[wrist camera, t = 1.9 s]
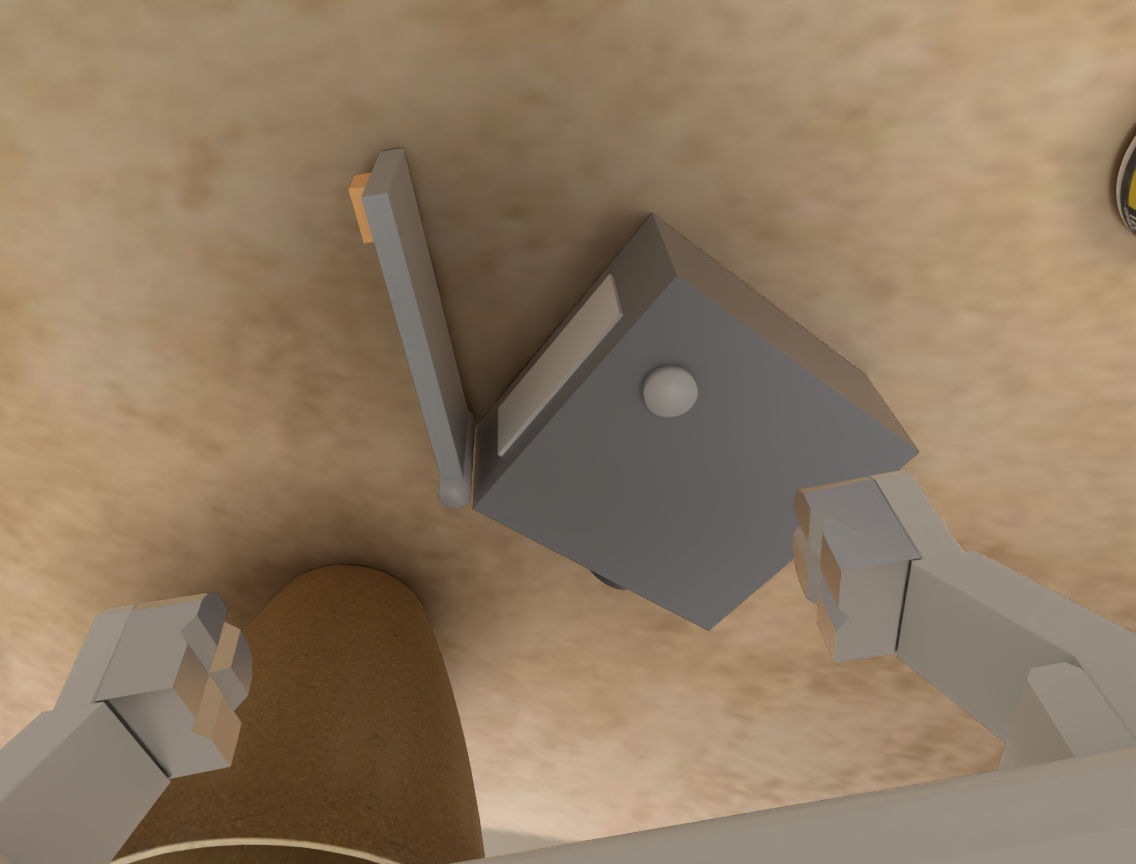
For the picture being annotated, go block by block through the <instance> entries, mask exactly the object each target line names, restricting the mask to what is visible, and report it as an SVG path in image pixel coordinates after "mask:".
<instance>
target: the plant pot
mask: <svg viewBox="0 0 1136 864" xmlns="http://www.w3.org/2000/svg"><path fill="white" fill-rule="evenodd" d="M242 633H243V635H244V636H245V638H246V640H247V642H248V645H249V648H250V652H251V655H252V681H251V685H250V690H249V695H248V696H247V697H246V698H245V699H244V700H243V702H242V703H241V704H240V705H239V706H238V707H237V708H236V709H235V710H234V712H235V713H236V715H237V717H238V718H239V720H240V721H241V728H240V732H239V736H238V740H237V744H236V748H235V752H234V756H233V760H232V764H231V767H226V768H221V769H216V770H211V771H206V772H201V773H196V774H192V775H187V776H182V777H177V778H172V779H169V780H170V783H169V785H168V786H167V787H166V789H165V790H164V791H163V793H162V794H161V795H160V797H159V798H158V799H157V801H156V802H155V803H154V805H153V806H152V807H151V809H150V810H149V811H148V813H147V814H146V815H145V817H144V818H143V819H142V821H141V822H140V823H139V824H138V826H137V827H136V828H135V830H134V831H133V832H132V834H131V835H130V836H129V838H128V839H127V840H126V842H125V843H124V844H123V846H122V847H121V848H120V850H119V851H118V852H117V854H116V855H115V856H114V858H113V859H112V860H111V862H110V863H109V864H451V863H457V862H463V861H469V860H475V859H481V858H485V854H484V847H483V839H482V832H481V825H480V818H479V812H478V807H477V801H476V795H475V789H474V784H473V778H472V772H471V767H470V762H469V757H468V752H467V748H466V743H465V739H464V734H463V730H462V726H461V722H460V718H459V714H458V710H457V706H456V702H455V698H454V695H453V691H452V688H451V684H450V681H449V677H448V674H447V671H446V668H445V665H444V661H443V658H442V655H441V652H440V649H439V647H438V644H437V641H436V639H435V636H434V633H433V631H432V628H431V625H430V623H429V620H428V618H427V615H426V613H425V611H424V608H423V606H422V604H421V602H420V600H419V599H418V597H417V596H416V595H415V594H414V593H413V591H412V590H411V589H410V588H408V587H407V586H406V585H405V584H404V583H402V582H401V581H399V580H398V579H396V578H394V577H393V576H391V575H389V574H386V573H384V572H382V571H379V570H376V569H372V568H368V567H363V566H356V565H332V566H326V567H321V568H317V569H314V570H311V571H308V572H306V573H304V574H302V575H300V576H298V577H297V578H295V579H294V580H292V581H291V582H290V583H289V584H287V585H286V586H285V587H284V588H283V589H282V590H281V591H280V592H279V593H278V594H277V595H276V596H275V597H274V598H273V599H272V600H271V601H270V602H269V603H268V604H267V605H266V606H265V607H264V608H263V609H262V610H261V612H260V613H259V614H258V615H257V616H256V617H255V618H254V619H253V620H252V621H251V622H250V623H249V624H248V625H247V626H246V627H245V628H244V630H243V631H242Z"/></svg>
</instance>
